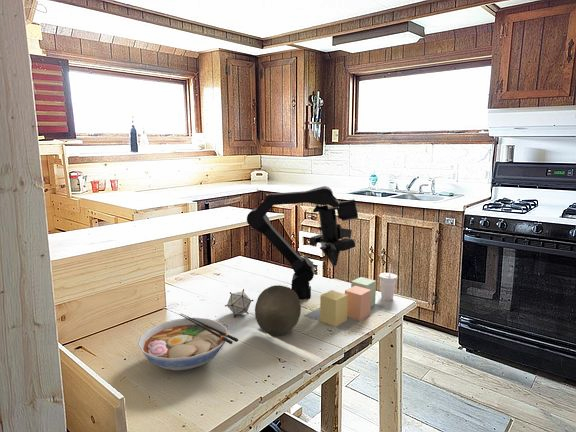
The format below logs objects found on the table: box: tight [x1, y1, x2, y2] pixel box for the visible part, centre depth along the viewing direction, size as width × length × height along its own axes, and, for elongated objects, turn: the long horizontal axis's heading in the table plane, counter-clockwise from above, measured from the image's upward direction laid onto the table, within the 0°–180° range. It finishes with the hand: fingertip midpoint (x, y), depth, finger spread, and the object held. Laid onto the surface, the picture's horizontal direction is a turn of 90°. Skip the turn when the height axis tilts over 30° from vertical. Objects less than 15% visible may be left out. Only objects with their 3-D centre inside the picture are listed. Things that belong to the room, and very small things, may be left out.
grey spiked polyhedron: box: [224, 288, 254, 318], centre depth 140 cm, size 9×8×10 cm
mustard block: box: [319, 289, 348, 328], centre depth 132 cm, size 6×6×8 cm
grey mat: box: [303, 303, 385, 331], centre depth 140 cm, size 16×24×1 cm, turn 138°
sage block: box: [350, 276, 377, 306], centre depth 144 cm, size 6×6×8 cm
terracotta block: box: [344, 286, 371, 322], centre depth 136 cm, size 6×6×8 cm
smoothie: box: [378, 263, 398, 301], centre depth 150 cm, size 6×6×14 cm
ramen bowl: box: [137, 313, 239, 371], centre depth 110 cm, size 25×23×8 cm
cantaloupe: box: [254, 284, 302, 337], centre depth 125 cm, size 14×14×15 cm
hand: (334, 265), depth 149 cm, fingers closed
